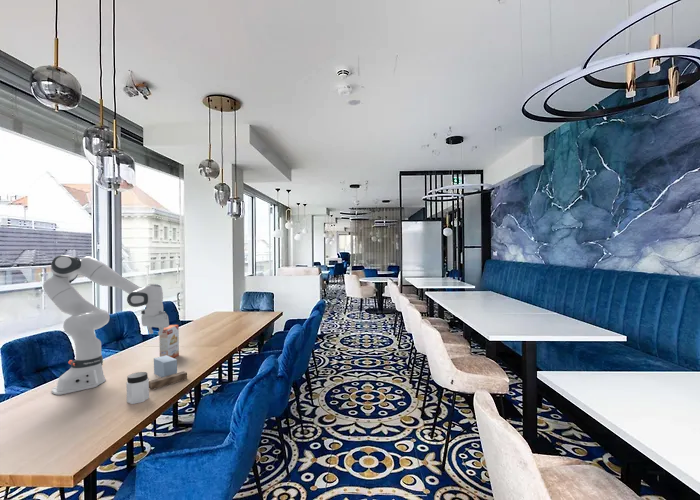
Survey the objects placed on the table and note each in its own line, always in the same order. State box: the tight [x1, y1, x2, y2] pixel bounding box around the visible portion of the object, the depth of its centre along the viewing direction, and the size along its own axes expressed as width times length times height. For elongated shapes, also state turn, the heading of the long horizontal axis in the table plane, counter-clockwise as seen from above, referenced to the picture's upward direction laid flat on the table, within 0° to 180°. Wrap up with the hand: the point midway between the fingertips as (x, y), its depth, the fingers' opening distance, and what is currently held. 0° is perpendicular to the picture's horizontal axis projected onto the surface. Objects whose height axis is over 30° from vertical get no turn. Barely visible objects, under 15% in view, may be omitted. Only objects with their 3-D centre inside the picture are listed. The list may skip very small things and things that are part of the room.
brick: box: [153, 355, 178, 378], centre depth 197 cm, size 7×14×9 cm, turn 50°
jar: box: [125, 371, 150, 405], centre depth 163 cm, size 9×8×12 cm
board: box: [149, 370, 188, 391], centre depth 183 cm, size 18×4×4 cm, turn 140°
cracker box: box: [158, 324, 180, 359], centre depth 228 cm, size 14×6×21 cm, turn 179°
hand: (155, 334), depth 205 cm, fingers open, 7 cm apart
